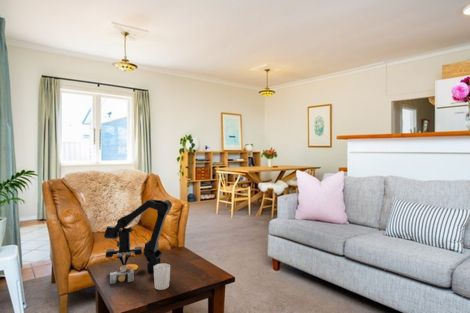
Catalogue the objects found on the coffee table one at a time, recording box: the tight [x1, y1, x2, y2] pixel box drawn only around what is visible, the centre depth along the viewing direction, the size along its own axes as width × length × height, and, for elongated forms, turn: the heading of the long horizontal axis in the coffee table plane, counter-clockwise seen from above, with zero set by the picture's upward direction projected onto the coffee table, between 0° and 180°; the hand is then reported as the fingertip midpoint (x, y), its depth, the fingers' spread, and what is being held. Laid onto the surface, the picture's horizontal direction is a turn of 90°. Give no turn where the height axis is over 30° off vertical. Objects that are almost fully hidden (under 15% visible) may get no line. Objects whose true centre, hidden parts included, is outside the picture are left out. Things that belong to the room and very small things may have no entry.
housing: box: [109, 269, 135, 285], centre depth 154 cm, size 11×6×5 cm, turn 106°
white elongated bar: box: [117, 264, 127, 283], centre depth 159 cm, size 16×3×3 cm, turn 16°
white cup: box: [153, 262, 171, 291], centre depth 146 cm, size 8×8×10 cm
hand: (124, 267), depth 168 cm, fingers closed, pressing on white elongated bar
